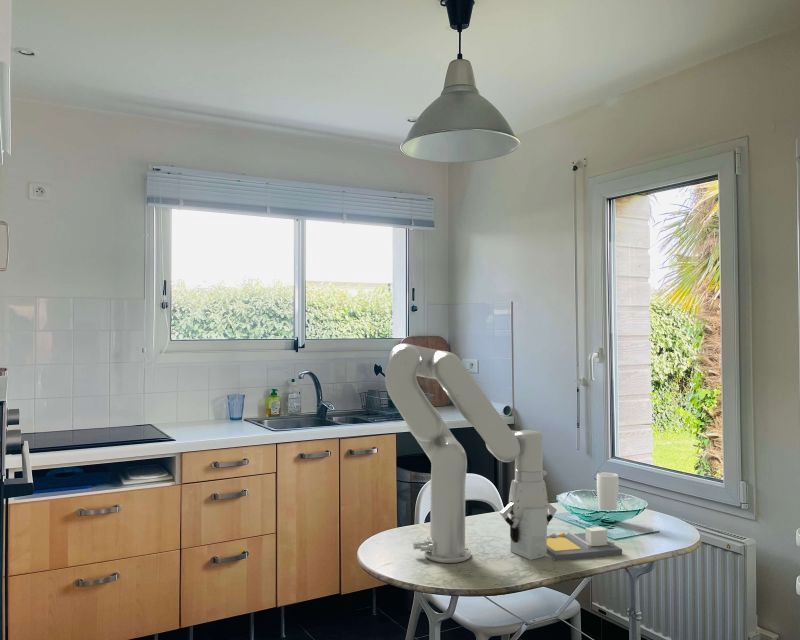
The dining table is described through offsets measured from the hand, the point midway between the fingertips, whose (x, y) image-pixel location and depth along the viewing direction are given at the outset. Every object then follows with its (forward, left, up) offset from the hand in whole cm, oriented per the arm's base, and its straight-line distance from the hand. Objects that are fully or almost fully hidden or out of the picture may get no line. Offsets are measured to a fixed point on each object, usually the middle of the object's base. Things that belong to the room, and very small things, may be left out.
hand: (528, 539), depth 182 cm
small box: (0, 0, -4) cm, 4 cm away
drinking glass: (+38, +22, -4) cm, 44 cm away
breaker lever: (+20, -2, -2) cm, 20 cm away
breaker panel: (+15, +1, -4) cm, 15 cm away
